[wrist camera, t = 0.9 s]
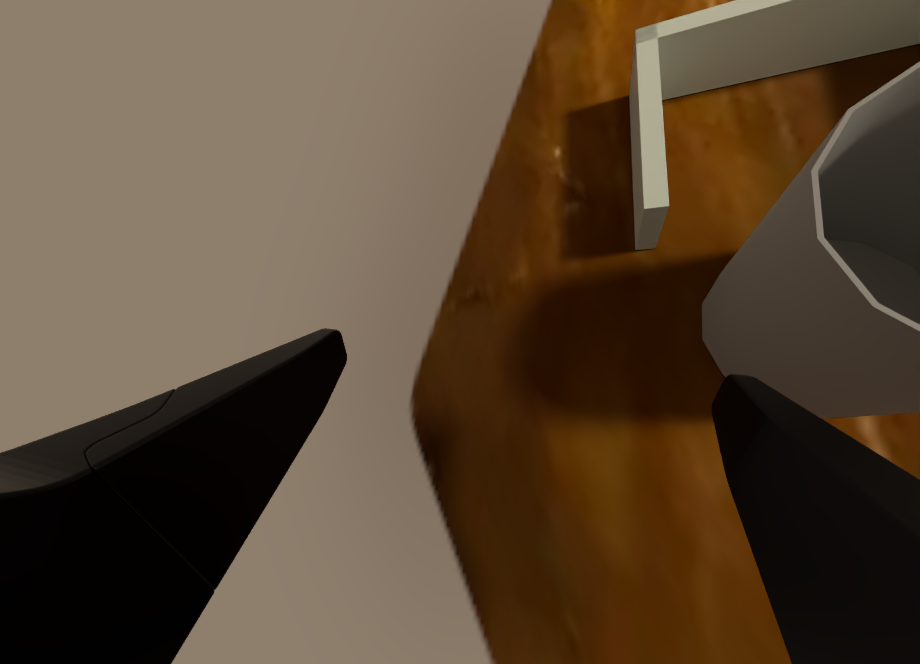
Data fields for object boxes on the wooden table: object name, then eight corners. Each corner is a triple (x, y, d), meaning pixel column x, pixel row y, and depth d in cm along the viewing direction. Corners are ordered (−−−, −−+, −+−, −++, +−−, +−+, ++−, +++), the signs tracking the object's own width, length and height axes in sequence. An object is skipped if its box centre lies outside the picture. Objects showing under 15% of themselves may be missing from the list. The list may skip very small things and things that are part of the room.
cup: (701, 245, 18) (801, 67, 9) (922, 237, 15) (1389, -41, 6) (703, 406, 17) (830, 374, 8) (955, 434, 13) (1686, 438, 4)
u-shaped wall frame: (1010, 218, 14) (1147, 147, 11) (635, 250, 20) (643, 209, 16) (943, 21, 17) (1035, -88, 14) (629, 95, 22) (635, 29, 19)
